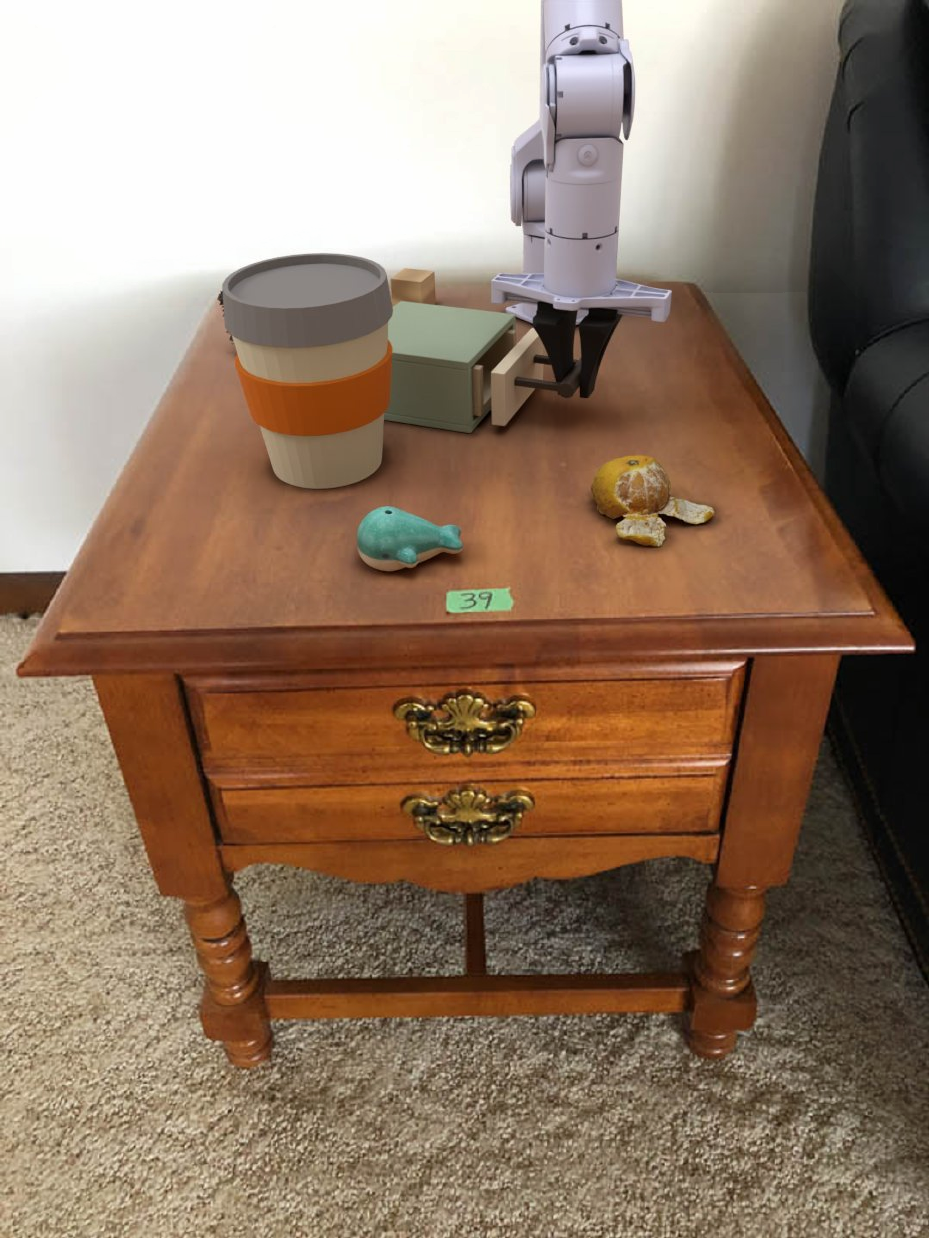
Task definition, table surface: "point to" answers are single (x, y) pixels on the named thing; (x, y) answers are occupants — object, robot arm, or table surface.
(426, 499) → the table surface
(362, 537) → the whale figurine
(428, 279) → the block
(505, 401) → the drawer
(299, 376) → the reusable coffee cup
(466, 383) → the cabinet
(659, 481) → the fruit
